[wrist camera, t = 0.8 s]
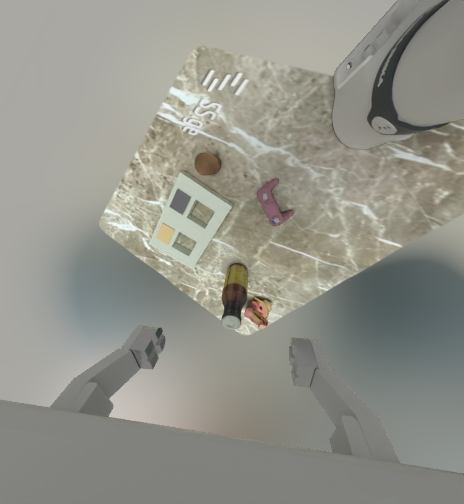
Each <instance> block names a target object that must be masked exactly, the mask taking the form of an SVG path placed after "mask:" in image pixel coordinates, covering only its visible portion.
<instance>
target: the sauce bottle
mask: <svg viewBox="0 0 464 504" xmlns="http://www.w3.org/2000/svg"><path fill="white" fill-rule="evenodd" d="M247 284H248V273H247V270H246V267H244V266H243V265H241V264H233V265H231V266H230V267H229V269H228V271H227V274H226V279H225V283H224V288H223V294H222V301H223V305H224V314H223V316H222V321H221V322H222V325H223V326H224V327H225V328H227V329H237V328H239V327H240V325H241V310H242V308H243V306H244V304H245V302H246V300H247Z"/></svg>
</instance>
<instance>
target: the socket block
mask: <svg viewBox="0 0 464 504" xmlns="http://www.w3.org/2000/svg"><path fill="white" fill-rule="evenodd" d="M197 201H199V202H201V203H202V204H204V205H205V206H207V207H209V208H210V209H212V210H213V211H215V213H214V215H213V216H212V218H211V220H210V221H209V223H208V225H206V224H205V223H203V222H202V221H200V220H199V219H197V218H195V217H194V216H192V215H191V212H192V211H193V209H194V207H195V205H196V203H197ZM232 206H233V204H232V203H231V202H229V201H228V200H226V199H225V198H223V197H222V196H220V195H219V194H217V193H216V192H214V191H213V190H211V189H210V188H209V187H207V186H206V185H204V184H203V183H201V182H200V181H198V180H197V179H195V178H194V177H192V176H191V175H189V174H188V173H186V172H185V171H184V172H180V173H179V175H178V178H177V180H176V182H175V185H174V187H173V189H172V192H171V194H170V196H169V199H168V201H167V203H166V206H165V208H164V210H163V213H162V215H161V217H160V220H159V222H158V224H157V227H156V229H155V231H154V234H153V236H152V238H151V241H150V243H149V245H151V246H153V247H155V248H156V249H158V250H160V251H161V252H163V253H165V254H167V255H168V256H170V257H172V258H174V259H175V260H177V261H179V262H180V263H182V264H184V265H186V266H187V267H189V268H191V269H193V267H194V266H195V264H196V263H197V261H198V260H199V258H200V256H201V255H202V253H203V252H204V250H205V249H206V247H207V245H208V244H209V242H210V241H211V239H212V238H213V236H214V234H215V233H216V231H217V230H218V228H219V227H220V225H221V223H222V222H223V220H224V219H225V217H226V216H227V214H228V212H229V211H230V209H231V208H232ZM181 233H183V234H184V235H186V236H187V237H189V238H191V239H192V240H194V241H196V242H197V243H196V245H195V247H194V248H193V250H192V251H190V250H188V249H187V248H185V247H183V246H182V245H180V244H178V243H177V242H176V241H177V239H178V237H179V236H180V234H181Z"/></svg>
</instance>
